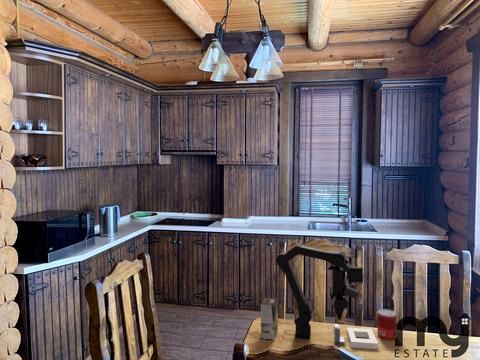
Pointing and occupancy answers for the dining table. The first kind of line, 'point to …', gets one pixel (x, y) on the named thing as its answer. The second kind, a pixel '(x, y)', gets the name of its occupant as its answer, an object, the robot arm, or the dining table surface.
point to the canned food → (386, 324)
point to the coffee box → (269, 318)
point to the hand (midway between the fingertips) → (338, 315)
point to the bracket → (338, 336)
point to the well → (362, 343)
